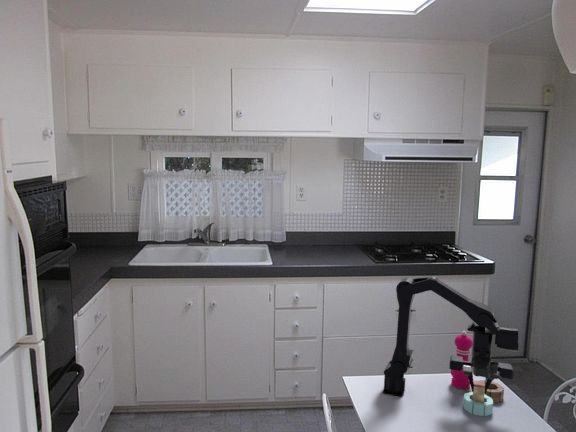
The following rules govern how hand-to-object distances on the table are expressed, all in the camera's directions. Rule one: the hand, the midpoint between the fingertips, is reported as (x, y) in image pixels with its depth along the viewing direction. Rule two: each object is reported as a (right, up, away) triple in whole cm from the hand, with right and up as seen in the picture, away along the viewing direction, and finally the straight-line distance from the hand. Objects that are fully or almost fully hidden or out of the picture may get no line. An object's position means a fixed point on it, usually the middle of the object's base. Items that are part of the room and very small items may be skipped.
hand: (478, 392), depth 152 cm
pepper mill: (0, -4, +17) cm, 18 cm away
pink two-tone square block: (0, -3, 0) cm, 3 cm away
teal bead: (0, -6, +1) cm, 6 cm away
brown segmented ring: (+7, -5, +10) cm, 13 cm away
